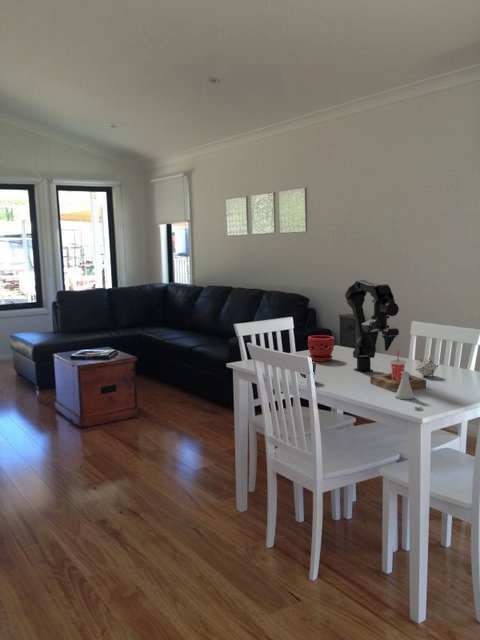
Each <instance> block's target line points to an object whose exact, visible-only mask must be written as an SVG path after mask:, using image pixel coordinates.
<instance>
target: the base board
mask: <svg viewBox="0 0 480 640" xmlns="http://www.w3.org/2000/svg"><path fill="white" fill-rule="evenodd" d="M369 379H370V380H369V381H370V384H371V385H374V386H376V387H379V388H382V389H385V390H388V391H389V392H392V393H397V391H398V388H399V386H400V383H401V381H397V382H395V381H392V372H391V373H382V374H375V375H370V378H369ZM409 382H410V386H411V389H412V391H413V390H419V389H426V388H427V379H424V378H423V377H422V378H421V377H418V376H415V375H412V374H409Z"/></svg>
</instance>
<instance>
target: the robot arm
mask: <svg viewBox="0 0 480 640" xmlns="http://www.w3.org/2000/svg"><path fill="white" fill-rule="evenodd" d="M368 293H369V294H370V296H371V297H372V301H371V302H372V303H373V315H371V317H370V319H369V320H367V321H366V316H365V312H364V307H363V306H364V302H365V298H366V295H368ZM344 297H345V299H346V303H347V305H348V306H349V307H350V308H351V309H352V314H353V320H354V323H355V325H354V326H355V329H356V334H357V339H356V343H355V348H354V350H353V351H352V357H353V358H354V359H356V368H353V369H354V371H357V372H360V373H365V372H366V373H367V372H368V373H369V372H373V371H374V369H372V368H371V367H372V366H371V363H372V362H371V359H374V358H375V356H376V350H377V348H376V347H377V346H376V344H377V340H378V336H379V332H381V334H382V335H381V337H382V338H383V339H384V340H383V341H384V343H383V344H384V351H386V352H387V351H389V348H390V347H391V346H392V344H393V342H394V339H395V338H396V337H398V336H399V335H400V329H398V327H390V325H389V324H388V319H390V317H396V315H398V314H399V311H400V308H399V305H398V304H397V303H396V302H395V298H394V294H393V292H392V290H391V287H390V285H389V284H377V283H373V282H371V281H370V282H369V281H367V280H365V279H364V280H355V282H354V283H353V284H352V285H350V286H349V287H348V288H347V290H346V292H345V295H344Z"/></svg>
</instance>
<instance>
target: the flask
mask: <svg viewBox="0 0 480 640" xmlns="http://www.w3.org/2000/svg"><path fill="white" fill-rule="evenodd" d="M401 374H402V379H401V383H400V386H399V388H398V391H397V392H395V398H397V399H398V400H413V399H415V395H414V392H413V390H412V389H411V386H410V382H409V375H411V373H410V371H407V370H406V371H405V370H404V371H403V372H401Z"/></svg>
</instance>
